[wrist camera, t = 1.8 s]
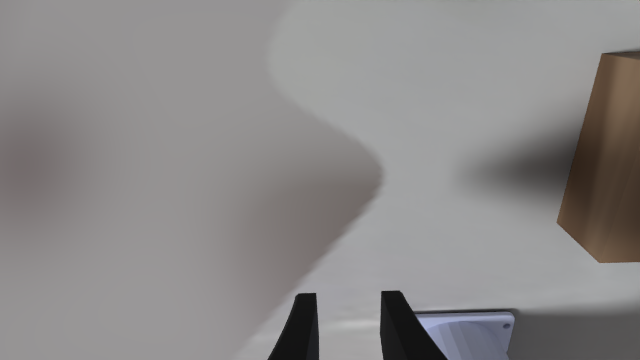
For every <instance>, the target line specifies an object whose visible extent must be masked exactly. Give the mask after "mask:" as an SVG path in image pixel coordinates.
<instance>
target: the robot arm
mask: <svg viewBox="0 0 640 360" xmlns="http://www.w3.org/2000/svg"><path fill="white" fill-rule="evenodd" d="M514 322H515V318H514V316H513V314H512V313H510V312H479V313H444V314H414V312H413V311H412V309H411V308H410V306H409V304H408V303H407V301H406V299H405V297H404V296H403V294H402V293H401V292H400V291H381V321H380V337H381V345H382V353H383V360H509V358H508V356H507V351H508V346H509V342H510V338H511V334H512V330H513V326H514ZM268 360H319V330H318V315H317V299H316V293H301V294H298V295H297V296H296V297H295V301H294V304H293V307H292V310H291V312H290V315H289V317H288V320H287V322H286V324H285V327H284V329H283V331H282V333H281V335H280V337H279V339H278V341H277V343H276V345H275V347H274V349H273V351H272V353H271V354H270V356H269V358H268Z"/></svg>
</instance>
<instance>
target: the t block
mask: <svg viewBox="0 0 640 360" xmlns="http://www.w3.org/2000/svg"><path fill="white" fill-rule="evenodd" d="M557 224H559V225H560V226H561V227H562V228H563V229H564V230H565V231H566V232H567V233H568V234H569V235H570V236H571V237H572V238H573V239H574V240H575V241H577V242H578V243H579V244H580V245H581V246H582V247H583V248H584V249H585V250H586V251H587V252H588V253H589V254H590V255H591V256H592V257H593V258H595V259H596V260H597V261H598V262H599V263H619V262H640V52H625V53H604V54H602V55H601V59H600V62H599V66H598V70H597V74H596V77H595V81H594V85H593V89H592V92H591V96H590V100H589V103H588V107H587V111H586V115H585V118H584V122H583V126H582V130H581V133H580V137H579V141H578V145H577V148H576V152H575V156H574V159H573V163H572V167H571V171H570V174H569V178H568V182H567V186H566V189H565V193H564V197H563V200H562V204H561V208H560V212H559V215H558V219H557Z"/></svg>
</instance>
